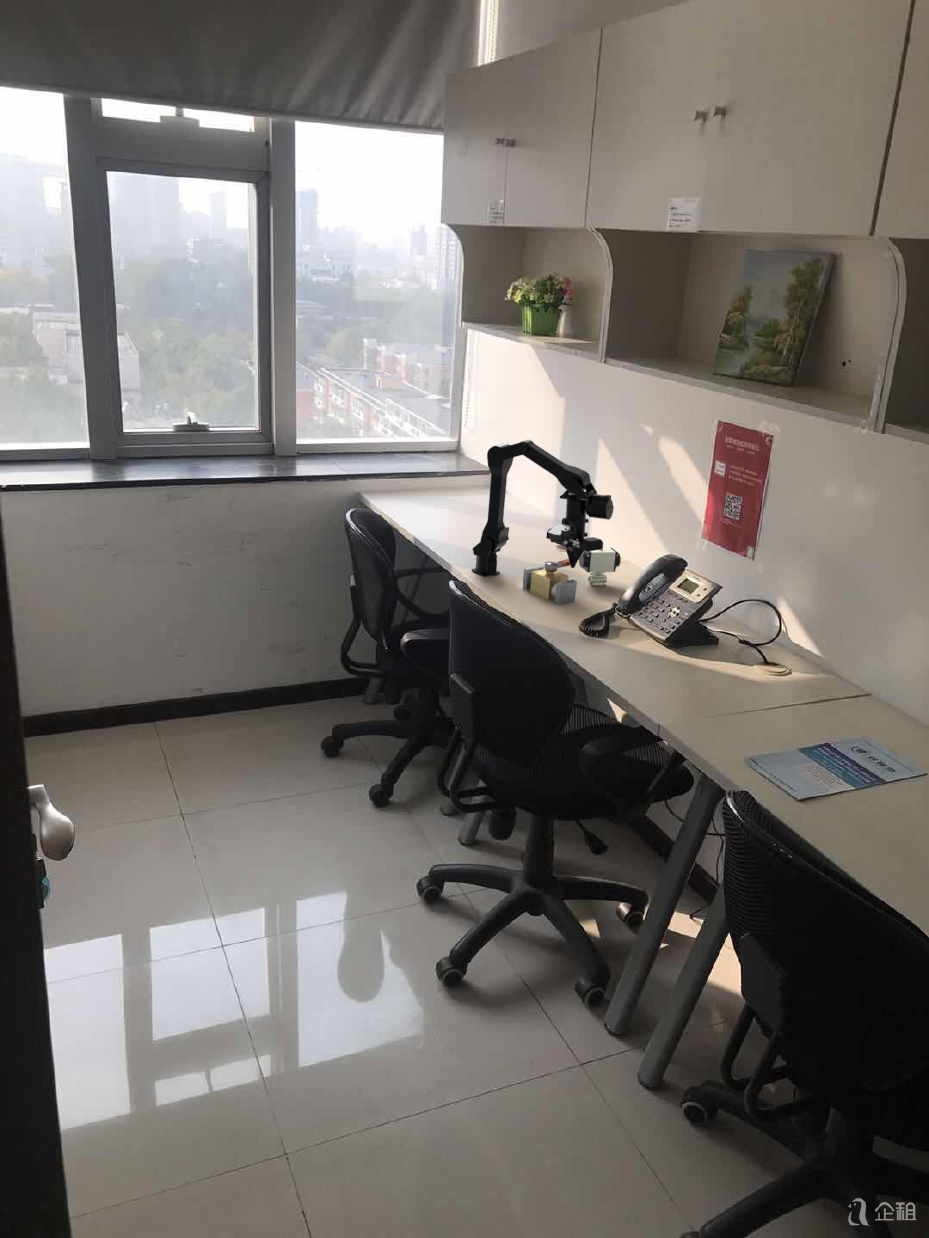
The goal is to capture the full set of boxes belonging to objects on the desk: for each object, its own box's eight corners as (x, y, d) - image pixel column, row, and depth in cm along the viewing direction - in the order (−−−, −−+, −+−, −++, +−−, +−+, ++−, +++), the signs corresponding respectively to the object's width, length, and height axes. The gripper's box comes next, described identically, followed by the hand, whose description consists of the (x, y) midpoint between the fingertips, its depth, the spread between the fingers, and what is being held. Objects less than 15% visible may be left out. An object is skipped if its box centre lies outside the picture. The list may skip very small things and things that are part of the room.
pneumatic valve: (617, 586, 295) (622, 548, 291) (581, 587, 293) (585, 549, 288) (611, 580, 300) (615, 543, 296) (575, 581, 298) (578, 543, 293)
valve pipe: (521, 588, 288) (523, 564, 286) (539, 585, 292) (541, 561, 290) (557, 605, 276) (559, 580, 274) (575, 601, 280) (578, 577, 278)
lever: (551, 572, 279) (551, 566, 279) (541, 569, 282) (542, 562, 281) (578, 565, 287) (578, 558, 287) (568, 562, 290) (569, 555, 289)
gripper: (533, 512, 283) (530, 564, 288) (576, 524, 269) (573, 579, 274) (562, 508, 289) (559, 559, 294) (606, 520, 275) (602, 573, 280)
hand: (572, 567), depth 285 cm, fingers closed
